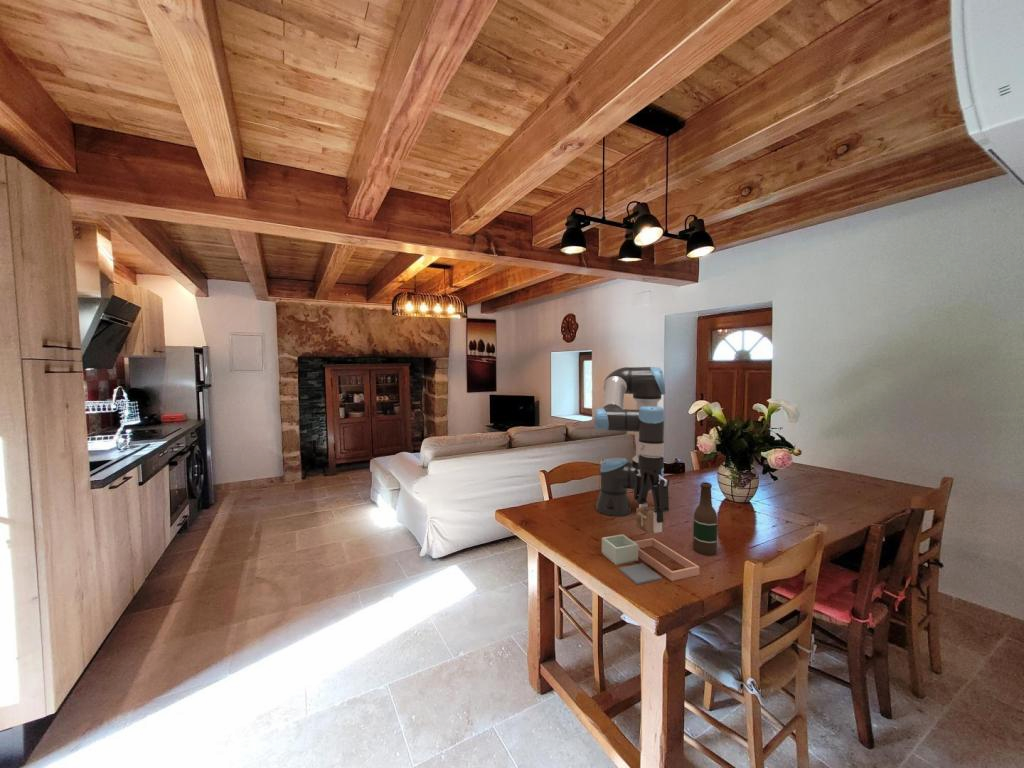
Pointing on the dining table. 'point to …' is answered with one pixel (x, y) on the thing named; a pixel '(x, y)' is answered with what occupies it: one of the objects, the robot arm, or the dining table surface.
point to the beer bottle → (705, 523)
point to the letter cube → (647, 519)
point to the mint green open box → (619, 549)
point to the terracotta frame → (672, 575)
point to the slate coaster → (640, 573)
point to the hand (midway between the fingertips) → (650, 527)
